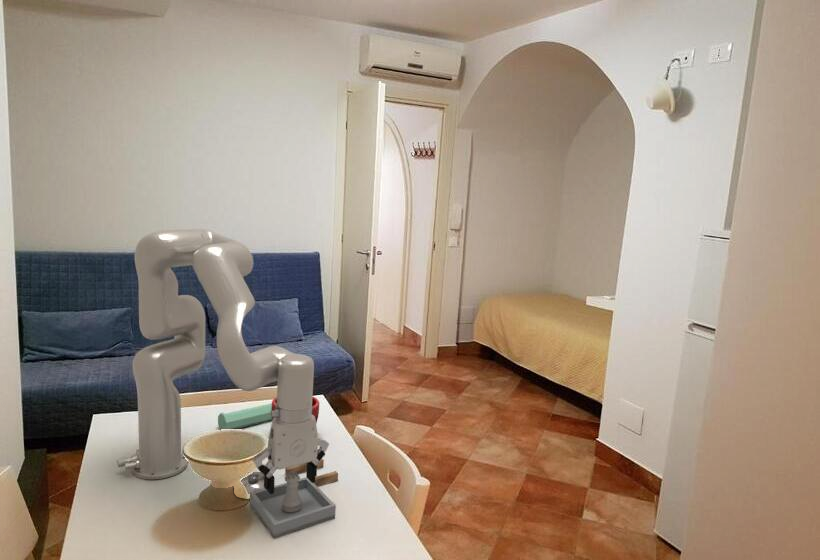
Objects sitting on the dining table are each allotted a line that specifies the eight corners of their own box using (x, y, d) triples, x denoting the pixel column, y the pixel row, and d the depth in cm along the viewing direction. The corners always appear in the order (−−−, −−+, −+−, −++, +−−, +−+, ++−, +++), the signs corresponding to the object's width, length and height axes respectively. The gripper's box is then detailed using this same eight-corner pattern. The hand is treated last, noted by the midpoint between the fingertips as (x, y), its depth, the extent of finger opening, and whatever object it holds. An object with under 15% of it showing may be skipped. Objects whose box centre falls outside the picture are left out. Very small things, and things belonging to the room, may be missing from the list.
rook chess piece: (297, 515, 119) (298, 480, 118) (278, 511, 120) (278, 477, 119) (305, 504, 124) (305, 470, 122) (286, 501, 124) (286, 467, 123)
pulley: (241, 503, 124) (241, 490, 123) (228, 485, 131) (228, 472, 130) (278, 492, 129) (279, 480, 128) (264, 475, 136) (264, 463, 136)
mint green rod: (295, 392, 176) (219, 408, 159) (304, 404, 173) (228, 422, 156) (290, 406, 179) (216, 424, 162) (299, 418, 175) (224, 438, 158)
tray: (274, 538, 112) (274, 525, 112) (249, 505, 123) (250, 492, 123) (335, 518, 120) (335, 505, 120) (307, 488, 132) (307, 476, 131)
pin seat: (300, 491, 130) (300, 483, 130) (285, 475, 137) (285, 467, 137) (337, 480, 136) (338, 473, 136) (321, 465, 143) (321, 458, 143)
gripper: (261, 426, 110) (258, 504, 113) (338, 411, 121) (333, 483, 123) (248, 412, 116) (246, 487, 119) (322, 399, 126) (318, 468, 129)
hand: (290, 485), depth 121 cm, fingers open, 9 cm apart
